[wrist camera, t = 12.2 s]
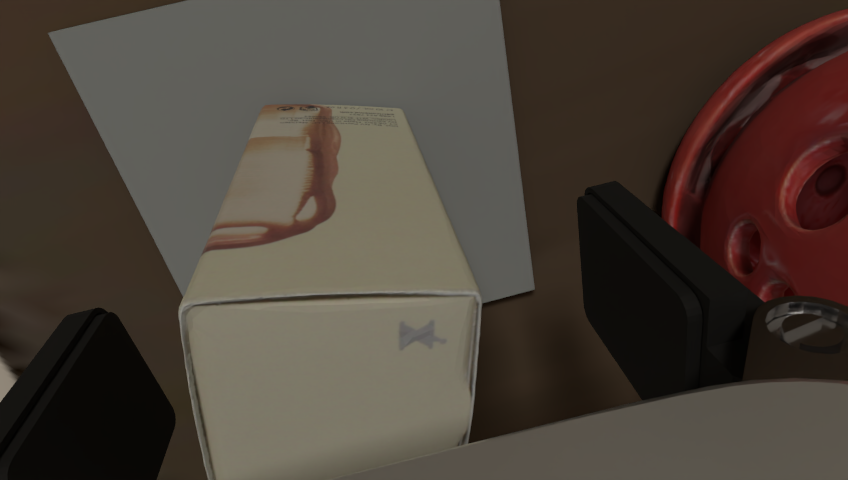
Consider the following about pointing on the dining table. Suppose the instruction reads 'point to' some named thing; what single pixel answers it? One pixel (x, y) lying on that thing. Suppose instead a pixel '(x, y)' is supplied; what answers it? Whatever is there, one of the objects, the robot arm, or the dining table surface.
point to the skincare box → (330, 304)
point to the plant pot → (773, 168)
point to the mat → (305, 84)
